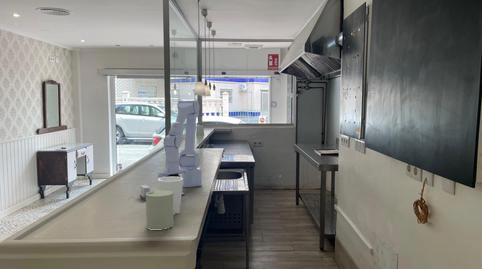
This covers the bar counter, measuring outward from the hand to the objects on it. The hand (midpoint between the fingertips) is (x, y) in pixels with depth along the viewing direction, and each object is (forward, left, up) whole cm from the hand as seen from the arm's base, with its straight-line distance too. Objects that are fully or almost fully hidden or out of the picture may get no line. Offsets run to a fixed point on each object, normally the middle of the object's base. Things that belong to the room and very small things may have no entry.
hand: (173, 190), depth 165 cm
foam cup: (+9, +27, -2) cm, 29 cm away
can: (+17, +41, -2) cm, 44 cm away
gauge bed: (+5, 0, -2) cm, 5 cm away
